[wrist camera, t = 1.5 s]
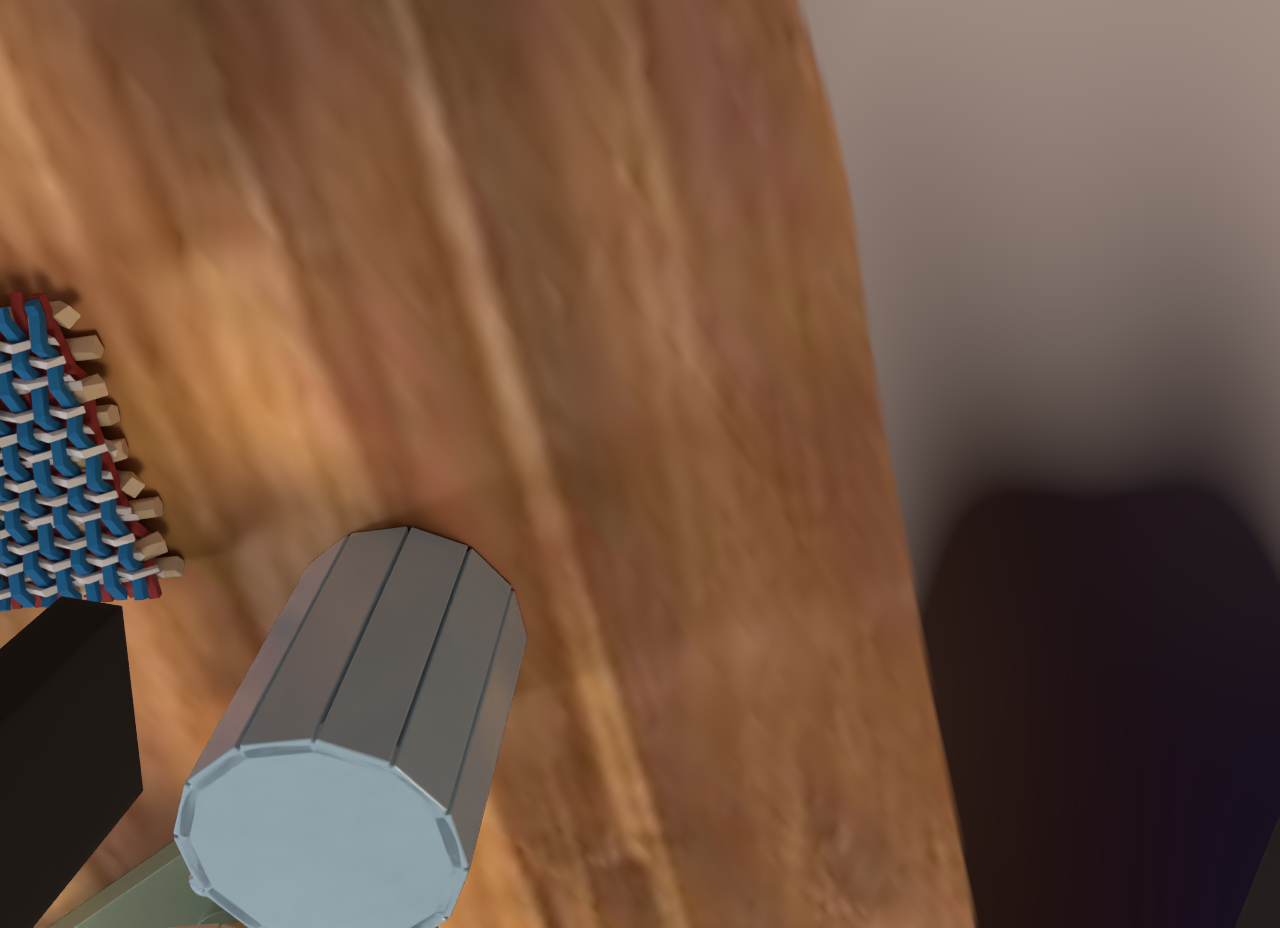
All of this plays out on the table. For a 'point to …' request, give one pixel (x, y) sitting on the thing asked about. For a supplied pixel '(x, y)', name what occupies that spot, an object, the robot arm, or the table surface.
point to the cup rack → (150, 899)
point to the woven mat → (66, 473)
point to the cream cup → (204, 926)
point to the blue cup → (359, 742)
